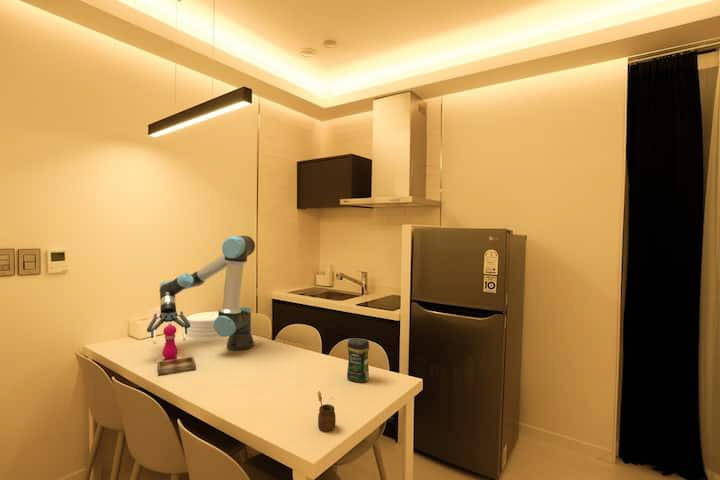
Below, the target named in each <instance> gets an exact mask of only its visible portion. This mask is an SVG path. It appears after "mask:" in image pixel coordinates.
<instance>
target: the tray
mask: <svg viewBox="0 0 720 480" xmlns="http://www.w3.org/2000/svg"><path fill="white" fill-rule="evenodd" d="M196 367H197V364H196V361H195V358H194V356H189V357H188V356H187V357H182V358H177V359H174V360H167V361H163V360H162V361H161V360H160V361H157V376H158V377H160V376H161V377H162V376H166V375H174V374H179V373H185V372H192V371H196V369H197V368H196Z"/></svg>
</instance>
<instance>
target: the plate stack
mask: <svg viewBox="0 0 720 480" xmlns="http://www.w3.org/2000/svg"><path fill="white" fill-rule="evenodd" d="M218 313H219V311H207V312H205V311H204V312H199V313H198V312H197V313H193V314H191V315H188V316H187V317H186V319H187V320H188V322H189V323H190V328H187V334H186V337H187V338H188V339H192V340H213V339H219V338H223V336H220V335H218V334H217V332H216V331H215V330H214V326H213V324H214V321H215V319H216V318H217V317H218Z"/></svg>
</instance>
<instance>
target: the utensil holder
mask: <svg viewBox="0 0 720 480" xmlns="http://www.w3.org/2000/svg"><path fill="white" fill-rule="evenodd" d="M317 397H318V401H319V403H320V406H319V409H318V416H317V417H318V418H317V424H318V425H317V427H318V430H319V431H321V432H331V431H333V430H334V429H335V428H336V412H335V410H336V409H335V406H334V405H335V404H333V403H335V401H336V400H335V398H334V397H333V396H330V397H328V401H331V400H332V402H328V403H327V404H323V403H322V400H323V398H322V394H321V390H318V392H317ZM329 399H330V400H329Z"/></svg>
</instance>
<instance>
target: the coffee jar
mask: <svg viewBox="0 0 720 480" xmlns="http://www.w3.org/2000/svg"><path fill="white" fill-rule="evenodd" d="M346 349H347V353H348V362H347V363H348V365H347V374H346V378H347V380H348V381H351V382H355V383H365V382H367V381H368V380H369V378H370V373H369V372H370V369H369V356H368V355H369V350H370V342H369V340H368V339H362V338H356V337H352V338H349V340H348V341H347V348H346Z"/></svg>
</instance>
